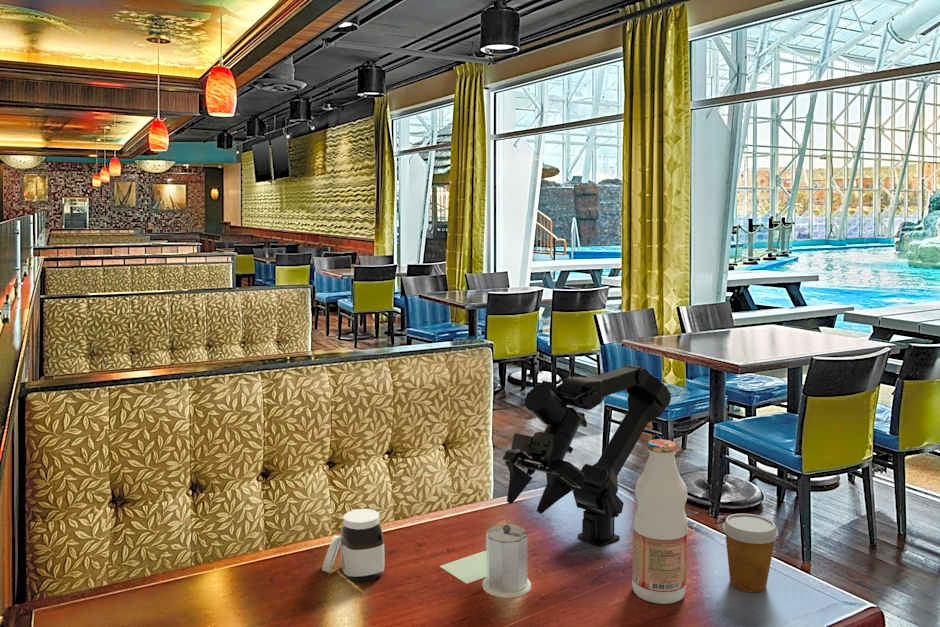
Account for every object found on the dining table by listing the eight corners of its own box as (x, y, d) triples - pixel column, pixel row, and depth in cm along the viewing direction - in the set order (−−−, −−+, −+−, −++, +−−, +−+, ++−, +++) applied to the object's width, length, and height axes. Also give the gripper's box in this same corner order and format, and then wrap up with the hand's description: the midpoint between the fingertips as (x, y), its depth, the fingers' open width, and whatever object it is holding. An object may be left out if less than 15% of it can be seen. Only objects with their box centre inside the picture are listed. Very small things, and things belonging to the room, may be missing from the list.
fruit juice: (621, 589, 138) (623, 441, 134) (655, 575, 143) (658, 432, 140) (661, 611, 130) (665, 454, 127) (696, 594, 136) (701, 444, 132)
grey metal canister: (501, 571, 144) (501, 514, 143) (533, 581, 140) (533, 523, 139) (479, 585, 139) (479, 526, 137) (512, 596, 134) (512, 536, 133)
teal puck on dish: (509, 571, 146) (509, 555, 145) (541, 589, 138) (541, 572, 138) (472, 584, 140) (472, 568, 140) (503, 604, 133) (503, 587, 133)
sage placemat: (499, 547, 156) (499, 545, 156) (527, 562, 149) (527, 561, 149) (439, 567, 147) (439, 566, 147) (466, 585, 140) (466, 583, 140)
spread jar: (389, 580, 142) (388, 521, 141) (330, 592, 138) (328, 531, 136) (372, 555, 153) (371, 500, 152) (317, 565, 149) (315, 508, 147)
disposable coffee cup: (774, 576, 142) (776, 515, 141) (776, 600, 134) (779, 536, 132) (721, 569, 146) (723, 509, 144) (720, 592, 137) (722, 529, 135)
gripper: (502, 410, 152) (466, 479, 147) (563, 420, 137) (526, 497, 132) (538, 437, 157) (505, 505, 152) (601, 449, 142) (566, 525, 137)
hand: (523, 507), depth 143 cm, fingers open, 9 cm apart
